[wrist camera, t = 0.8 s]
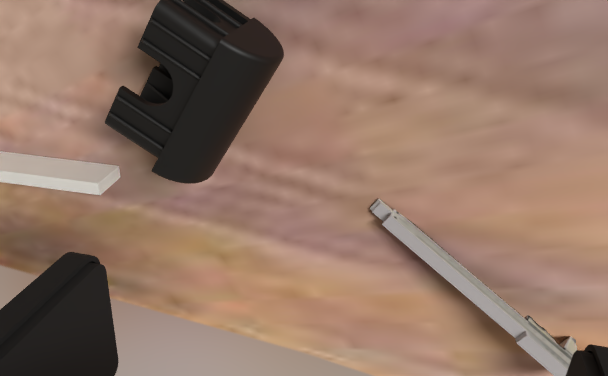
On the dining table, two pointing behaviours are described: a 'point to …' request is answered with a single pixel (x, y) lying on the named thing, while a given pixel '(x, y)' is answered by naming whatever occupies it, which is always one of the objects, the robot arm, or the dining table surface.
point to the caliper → (480, 294)
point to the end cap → (196, 85)
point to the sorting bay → (57, 173)
